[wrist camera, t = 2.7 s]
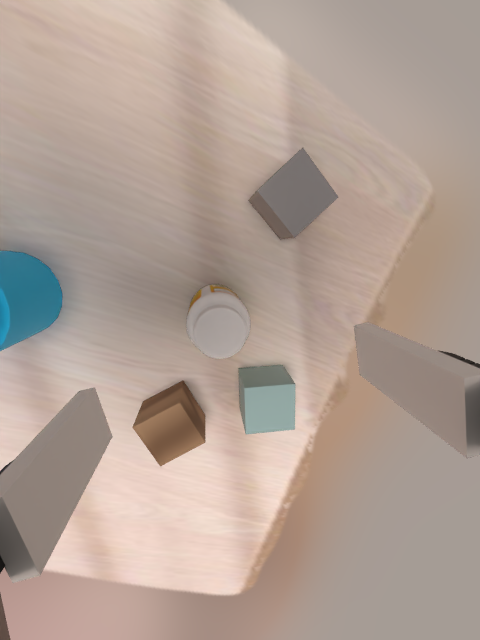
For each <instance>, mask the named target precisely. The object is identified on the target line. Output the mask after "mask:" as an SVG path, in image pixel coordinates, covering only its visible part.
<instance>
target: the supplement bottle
mask: <svg viewBox="0 0 480 640" xmlns="http://www.w3.org/2000/svg"><path fill="white" fill-rule="evenodd" d="M250 326H251V322H250V316H249V313H248V311H247V308H246V307H245V305H244V304H243V303H242V301H241V300H240V299H239V297H238V296H237V295H236V294H235V293H234V292H233V291H232V290H231V289H229V288H228V287H226V286H223V285H217V284H214V285H208V286H205V287H203V288H202V289H200V290H199V291H198V292H197V293H196V294H195V295H194V297H193V298H192V301H191V303H190V307H189V311H188V315H187V321H186V328H187V333H188V336H189V338H190V340H191V341H192V343H193V344H194V345H195V346H196V347H197V348H198V349H199V350H200V351H201V352H202V353H203V354H205V355H207V356H208V357H211V358H215V359H225V358H229V357H231V356H233V355H235V354H236V353H238V352H239V351H240V350H241V348H242V347H243V345H244V344H245V341H246V339H247V338H248V335H249V332H250Z"/></svg>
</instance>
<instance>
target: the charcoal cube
mask: <svg viewBox="0 0 480 640" xmlns="http://www.w3.org/2000/svg"><path fill="white" fill-rule="evenodd" d="M337 198H338V196H337V194H336V193H335V192H334V190H333V189H332V187H331V186H330V185H329V183H328V182H327V181H326V179H325V178H324V176H323V175H322V174H321V172H320V171H319V169H318V168H317V167H316V165H315V164H314V162H313V161H312V160H311V158H310V157H309V156H308V154H307V153H306V151H305V150H304V149H303V148H302V149H301V150H299V151H298V152H297V153H296V154H295V155H294V156H293V157H292V158H291V159H290V160H289V161H288V162H287V163H286V164H285V165H284V166H283V167H281V168H280V169H279V170H278V171H277V172H276V173H275V174H274V175H273V176H272V177H271V178H270V179H269V180H268V181H267V182H266V183H265V184H264V185H262V186H261V187H260V188H259V189H258V190H257V191H256V192H255V194H254V195H253V196H252V197H251V198H250V199H249V200H248V201H249V202H250V203H251V204H252V206H253V207H254V208H255V209H256V210H257V212H258V213H259V214H260V215H261V217H262V218H263V219H264V220H265V221H266V223H267V224H268V225H269V226H270V228H271V229H272V230H273V231H274V232H275V234H276V235H277V236H278V237H279V239H280V240H281V239H288V238H295V237H296V236H297V235H298V234H299V233H300V232H301V231H302V230H303V229H304V228H306V227H307V226H308V225H309V224H310V223H311V222H312V221H313V220H314V219H315V218H316V217H318V216H319V215H320V214H321V213H322V212H323V211H324V210H325V209H326V208H327V207H328V206H329V205H331V204H332V203H333V202H334V201H335V200H336V199H337Z"/></svg>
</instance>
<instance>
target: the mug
mask: <svg viewBox="0 0 480 640" xmlns="http://www.w3.org/2000/svg"><path fill="white" fill-rule="evenodd" d="M61 307H62V291H61V288H60V285H59V282H58V280H57V278H56V277H55V275H54V274H53V272H52V271H51V270H50V268H48V267H47V266H46V265H45V264H44V263H42V262H41V261H40V260H39V259H37V258H34V257H32V256H30V255H28V254H25V253H20V252H13V251H0V351H2V350H4V349H6V348H8V347H10V346H12V345H14V344H16V343H18V342H20V341H22V340H24V339H26V338H28V337H30V336H32V335H34V334H36V333H38V332H40V331H42V330H44V329H46V328H48V327H49V326H50V325H51V324H52V323H53V322H54V321H55V320H56V319H57V317H58V315H59V312H60V310H61Z"/></svg>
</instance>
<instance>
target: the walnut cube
mask: <svg viewBox="0 0 480 640" xmlns="http://www.w3.org/2000/svg"><path fill="white" fill-rule="evenodd" d="M133 429H134V430H135V431H136V433H137V434H138V436H139V437H140V438H141V440H142V441H143V443H144V444H145V445H146V447H147V448H148V450H149V451H150V452H151V454H152V455H153V457H154V458H155V459H156V461H157V462H158V464H159V465H160V466H162V465H164V464H165V463H167V462H169V461H171V460H173V459H175V458H177V457H179V456H181V455H183V454H184V453H186V452H188V451H190V450H192V449H194V448H196V447H198V446H200V445H202V444H203V443H205V414H204V413H203V411H202V410H201V408H200V406H199V405H198V403H197V402H196V400H195V398H194V397H193V395H192V394H191V392H190V390H189V389H188V387H187V386H186V384H185V382H184V381H181V382H179V383H177V384H175V385H174V386H172V387H170V388H168V389H166V390H164V391H162V392H160V393H158V394H157V395H155V396H153V397H151V398H149V399H147V400H145V401H143V403H142V406H141V408H140V410H139V413H138V415H137V418H136V420H135V423H134V425H133Z"/></svg>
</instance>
